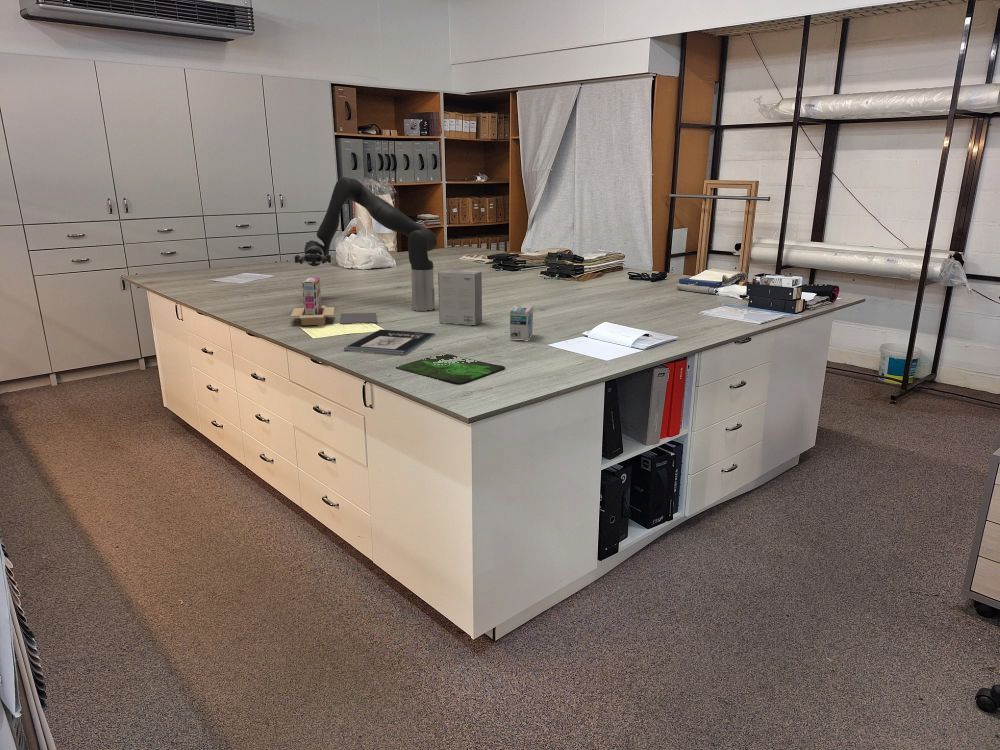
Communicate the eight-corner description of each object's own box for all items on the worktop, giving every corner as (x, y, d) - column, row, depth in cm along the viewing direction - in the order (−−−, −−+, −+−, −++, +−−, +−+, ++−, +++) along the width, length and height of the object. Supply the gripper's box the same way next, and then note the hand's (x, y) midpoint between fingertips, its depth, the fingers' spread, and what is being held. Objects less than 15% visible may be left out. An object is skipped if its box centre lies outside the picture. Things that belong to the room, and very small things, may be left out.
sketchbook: (435, 336, 244) (435, 331, 244) (404, 358, 216) (403, 352, 216) (380, 332, 249) (380, 326, 249) (342, 352, 221) (342, 346, 221)
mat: (375, 313, 278) (375, 312, 278) (377, 323, 261) (377, 322, 261) (341, 314, 275) (341, 313, 275) (339, 324, 258) (339, 323, 258)
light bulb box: (528, 341, 236) (528, 311, 233) (509, 340, 237) (509, 310, 234) (532, 334, 246) (533, 305, 243) (514, 333, 247) (515, 304, 244)
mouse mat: (391, 369, 204) (391, 365, 203) (441, 354, 220) (441, 351, 220) (460, 386, 188) (460, 383, 187) (507, 369, 204) (508, 366, 204)
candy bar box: (318, 324, 258) (315, 281, 253) (304, 324, 257) (301, 281, 253) (323, 318, 268) (320, 277, 264) (310, 318, 268) (307, 277, 263)
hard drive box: (482, 322, 264) (482, 271, 259) (475, 326, 257) (475, 274, 252) (446, 319, 269) (445, 269, 263) (438, 323, 262) (437, 271, 256)
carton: (335, 315, 275) (334, 305, 273) (333, 326, 254) (333, 316, 253) (295, 316, 272) (294, 306, 270) (290, 328, 251) (289, 317, 250)
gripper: (296, 246, 282) (292, 251, 267) (331, 246, 285) (329, 251, 270) (297, 264, 284) (294, 270, 269) (332, 264, 287) (330, 270, 272)
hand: (312, 261), depth 269 cm, fingers open, 8 cm apart
